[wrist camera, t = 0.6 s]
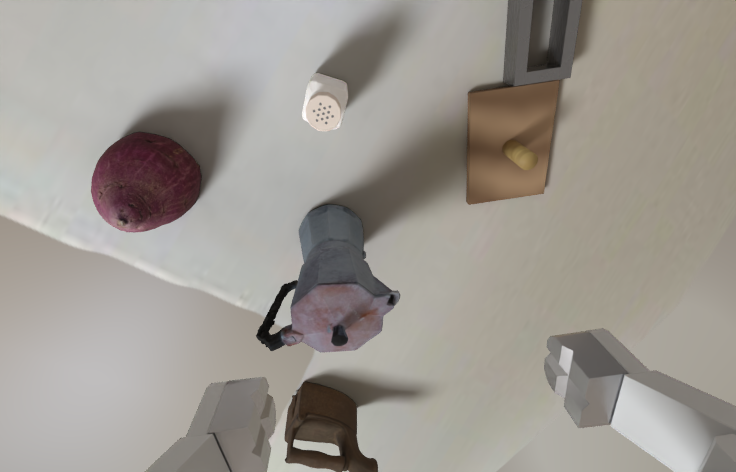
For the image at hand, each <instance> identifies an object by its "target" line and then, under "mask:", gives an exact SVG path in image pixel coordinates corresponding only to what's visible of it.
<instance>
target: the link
mask: <svg viewBox="0 0 736 472" xmlns="http://www.w3.org/2000/svg"><path fill="white" fill-rule="evenodd" d="M581 6H582V0H554V7H553V15H552V23H551V31H550V40H549V48H548V56H547V64H545V65H538V66H531V67H527V62H528V52H529V41H530V31H531V20H532V10H533V0H508V14H507V29H506V45H505V61H504V76H503V82H504V83H507V84H509V85H512V86H519V85H526V84H532V83H539V82H546V81H552V80H559V79H565V78H570V77H571V70H572V64H573V57H574V51H575V44H576V38H577V32H578V25H579V19H580V12H581Z"/></svg>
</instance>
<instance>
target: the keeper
mask: <svg viewBox="0 0 736 472" xmlns="http://www.w3.org/2000/svg"><path fill="white" fill-rule="evenodd" d="M559 81H560V80H552V81H546V82H539V83H532V84H526V85H519V86H505V87H499V88H492V89H486V90H479V91H473V92H468V134H467V197H466V202H467V203H468V204H469V205H470V204H477V203H483V202H490V201H497V200H504V199H510V198H517V197H524V196H531V195H537V194H544V187H545V180H546V173H547V166H548V159H549V152H550V145H551V138H552V131H553V124H554V117H555V110H556V103H557V96H558V88H559Z"/></svg>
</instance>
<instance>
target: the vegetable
mask: <svg viewBox="0 0 736 472" xmlns="http://www.w3.org/2000/svg"><path fill="white" fill-rule="evenodd" d="M200 184H201V173H200V166H199V165H198V164H197V163H196V161H195V159H194V158H193V157H192V156H191V155H190V154H189V153H188V152H187V151H186V150H184V149H183V148H182V147H181V146H180V145H179V144H177V143H176V142H174V141H173V140H171V139H169V138H166V137H163V136H159V135H156V134H150V133H143V132H137V133H133V134H130V135H128V136H126V137H124V138H122V139H120V140H118V141H117V142H115V143H114V144H113V145H111V146H110V147H109V148H108V149H107V150H106V151H105V152H104V154H103V155H102V156H101V157H100V159H99V160H98V163H97V165H96V168H95V171H94V173H93V177H92V186H91V193H92V198H93V201H94V204H95V206H96V208H97V210H98V212H99V214H100V215H101V216H102V218H103V219H104V220H105V221H106V222H108V223H109V224H110V225H112V226H113V227H115V228H117V229H119V230H121V231H125V232H143V231H148V230H152V229H155V228H157V227H159V226H162V225H164V224H168V223H170V222H172V221H174V220H176V219H178V218H179V217H181V216H182V215H184V214H185V213H186V212H187V211H188V210H189V209H190V208H191V207H192V206H193V205H194V204H195V202H196V200H197V198H198V196H199V191H200Z"/></svg>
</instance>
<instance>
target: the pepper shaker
mask: <svg viewBox="0 0 736 472" xmlns="http://www.w3.org/2000/svg"><path fill="white" fill-rule="evenodd" d="M347 100H348V89H347V83H345V82H344V81H342V80H339V79H336V78H333V77H329V76H326V75H323V74H320V73H314V74H313V76H312V77H311V79H310V81H309V83H308V85H307V90H306V95H305V100H304V105H303V111H302V116H303V119H304V120H305V121H307V122H309V123H310V125H311V126H312V127H313V128H315V129H317V130H319V131H330V130H331V129H338V128H339V127H340V126H341V124H342V120H343V116H344V113H345V109H346V105H347Z"/></svg>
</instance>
